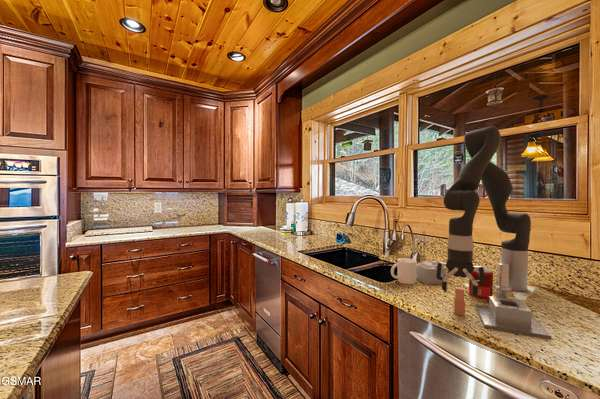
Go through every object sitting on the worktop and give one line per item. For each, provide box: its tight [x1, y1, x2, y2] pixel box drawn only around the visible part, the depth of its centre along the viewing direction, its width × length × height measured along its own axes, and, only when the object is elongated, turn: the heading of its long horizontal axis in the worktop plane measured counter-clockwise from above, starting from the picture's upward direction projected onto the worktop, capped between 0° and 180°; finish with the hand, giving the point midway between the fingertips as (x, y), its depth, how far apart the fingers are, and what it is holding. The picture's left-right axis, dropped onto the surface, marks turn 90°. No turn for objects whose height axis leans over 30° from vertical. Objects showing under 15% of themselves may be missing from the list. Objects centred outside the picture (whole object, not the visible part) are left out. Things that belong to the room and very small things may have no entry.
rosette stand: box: [474, 262, 552, 340], centre depth 88 cm, size 18×16×17 cm
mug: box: [390, 257, 417, 286], centre depth 124 cm, size 12×8×10 cm
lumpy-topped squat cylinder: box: [416, 260, 447, 285], centre depth 127 cm, size 10×13×9 cm
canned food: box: [468, 266, 494, 300], centre depth 108 cm, size 8×8×11 cm
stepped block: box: [453, 286, 466, 317], centre depth 92 cm, size 3×3×9 cm
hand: (459, 293), depth 92 cm, fingers open, 8 cm apart
